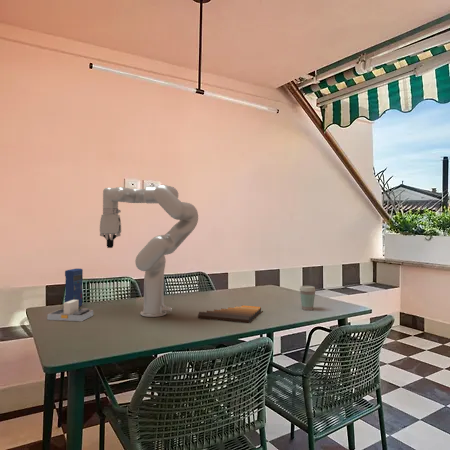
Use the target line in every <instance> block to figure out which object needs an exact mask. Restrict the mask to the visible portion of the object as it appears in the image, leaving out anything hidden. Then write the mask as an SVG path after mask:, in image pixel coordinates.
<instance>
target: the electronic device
mask: <svg viewBox="0 0 450 450" xmlns="http://www.w3.org/2000/svg"><path fill="white" fill-rule="evenodd" d="M83 274H84V273H83V268H72V269H71V268H70V269H67V270H65V271H64V277H65V286H64V287H65V292H64V293H65V295H64V303H65V302H68V301H71V300H79V307H81V306H83V277H84V276H83Z"/></svg>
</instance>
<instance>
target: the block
mask: <svg viewBox="0 0 450 450" xmlns="http://www.w3.org/2000/svg"><path fill="white" fill-rule="evenodd" d="M79 307H80V306H79V300H71V301H68V302H65V301H64V303H63V309H64V314H66V315H71V314H73V313H74V312H76V311H78V310H80V309H79Z"/></svg>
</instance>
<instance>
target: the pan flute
mask: <svg viewBox="0 0 450 450" xmlns="http://www.w3.org/2000/svg"><path fill="white" fill-rule="evenodd" d="M261 312H262V308H261V306H253V305H241V306H234V307H231V306H230V307H229V306H228V307H227V308H221V309H214V310H206V312H205V311H199V312H198V314H197V318H198V319H201V320H202V319H203V320H214V321H225V322H232V323H233V322H234V323H243V324H249V323H251V322H252V321H253V320H254V319H255V318H256V317H257V316H258V315H259V314H261Z"/></svg>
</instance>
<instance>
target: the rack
mask: <svg viewBox="0 0 450 450" xmlns="http://www.w3.org/2000/svg"><path fill="white" fill-rule="evenodd" d="M93 316H94V310H93V309H90V308H85V307H83V308H81V309H78V311H76V312H74V313H73V314H71V315H66V314H64V308H60V309H57V310H54V311H51V312H49V313H47V316H46V317H47V318H46V319H47V321H68V322H69V321H70V322H84V321H85V320H87V319H89V318H91V317H93Z"/></svg>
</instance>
